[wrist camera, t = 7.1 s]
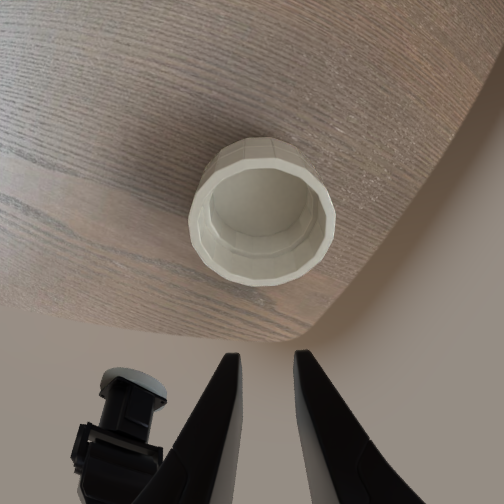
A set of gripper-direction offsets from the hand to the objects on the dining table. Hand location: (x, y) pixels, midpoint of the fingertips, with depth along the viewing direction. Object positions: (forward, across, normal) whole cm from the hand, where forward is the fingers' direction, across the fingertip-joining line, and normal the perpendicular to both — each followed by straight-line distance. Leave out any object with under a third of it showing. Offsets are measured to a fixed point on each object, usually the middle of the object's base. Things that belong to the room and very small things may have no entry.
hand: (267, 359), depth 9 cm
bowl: (+12, 0, 0) cm, 12 cm away
